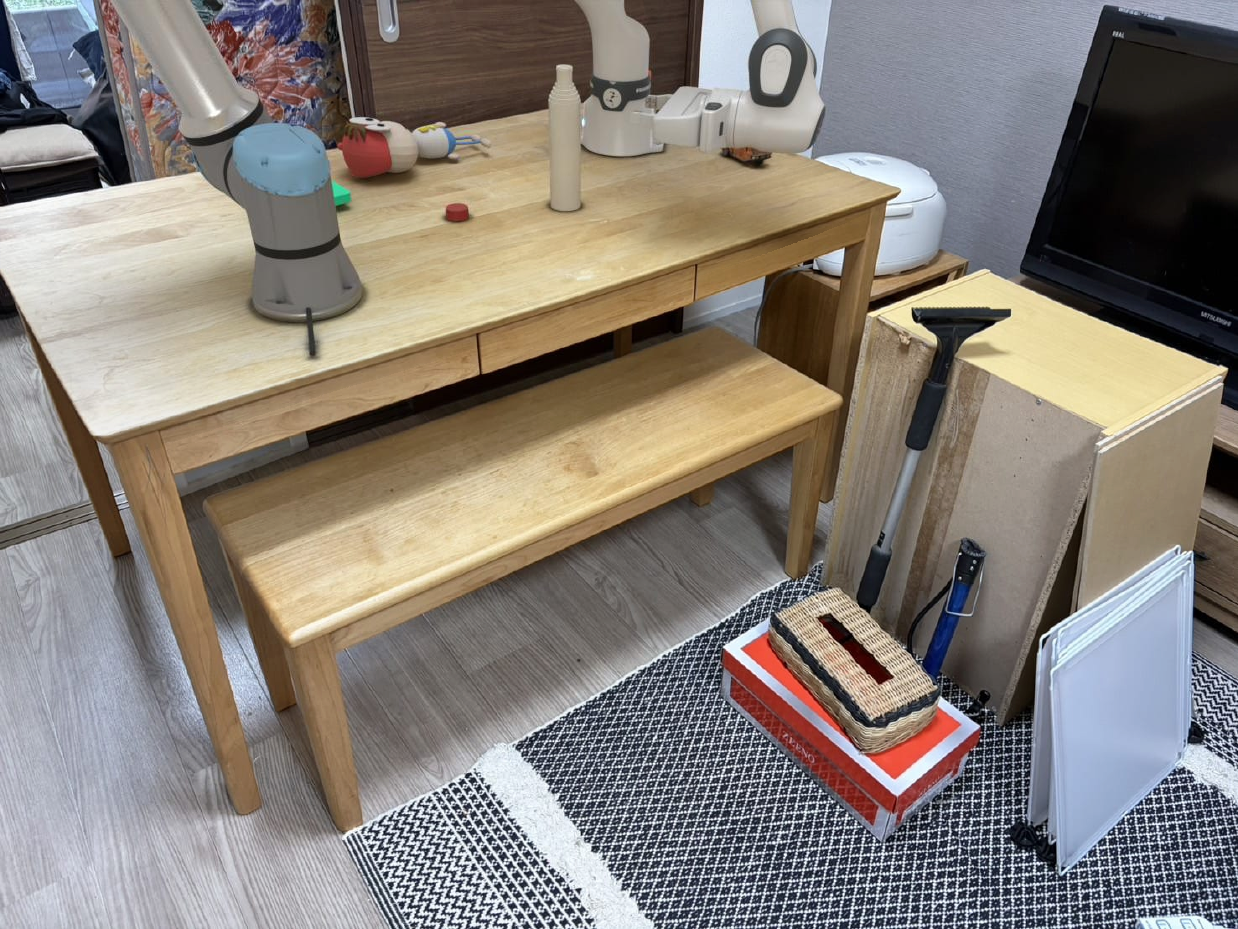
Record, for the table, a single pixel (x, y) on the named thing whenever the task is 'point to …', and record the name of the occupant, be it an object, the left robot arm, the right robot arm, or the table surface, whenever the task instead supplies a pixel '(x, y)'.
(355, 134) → the toy
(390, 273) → the table surface
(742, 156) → the toy car
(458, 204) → the cap
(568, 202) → the bottle
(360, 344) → the table surface
